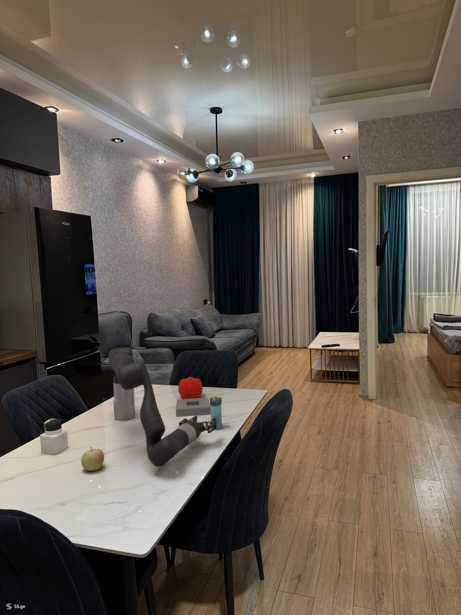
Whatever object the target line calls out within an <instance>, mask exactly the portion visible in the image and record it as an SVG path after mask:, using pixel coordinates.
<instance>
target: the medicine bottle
mask: <svg viewBox="0 0 461 615" xmlns="http://www.w3.org/2000/svg"><path fill="white" fill-rule="evenodd" d="M68 439H69V438H68V430H66V429H63V426H62V420H61V419H59V418H51V419H48V420H46V421H45V422H44V432H43V433H42V434H40V435H39V442H40V443H39V444H40V453H41V454H47V455H53V456H55V455H59V454H60V453H61V452H64V451H65V450H66V449H68V448H69V440H68Z"/></svg>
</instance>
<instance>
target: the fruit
mask: <svg viewBox="0 0 461 615" xmlns="http://www.w3.org/2000/svg"><path fill="white" fill-rule="evenodd" d="M104 460H105V454H104V451H103V450H102V449H100V448H92V447H90V449H88V450H86V451H84V452H83V453H82V456H81V459H80V462H81V466H82V468H83V469H84V470H86V471H91V472H93V471H97V470H100V469H101V467H102V466H103V464H104Z"/></svg>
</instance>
